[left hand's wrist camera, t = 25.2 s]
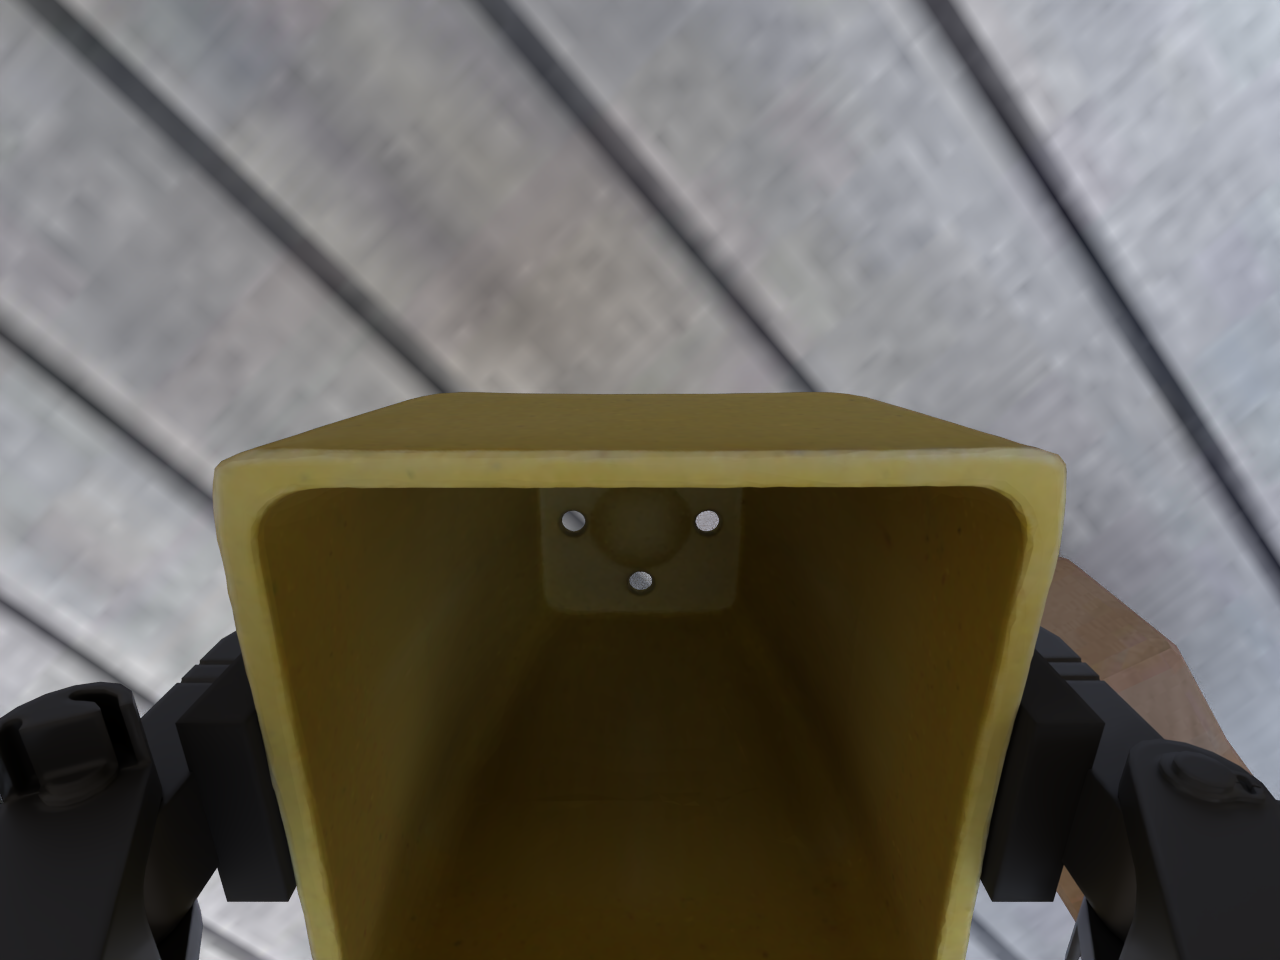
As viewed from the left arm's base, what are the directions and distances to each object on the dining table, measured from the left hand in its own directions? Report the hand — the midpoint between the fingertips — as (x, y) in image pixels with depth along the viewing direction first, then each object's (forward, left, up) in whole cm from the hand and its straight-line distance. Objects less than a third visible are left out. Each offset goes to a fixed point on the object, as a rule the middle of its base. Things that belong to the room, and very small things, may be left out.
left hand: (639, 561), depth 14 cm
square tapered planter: (0, 0, -3) cm, 3 cm away
